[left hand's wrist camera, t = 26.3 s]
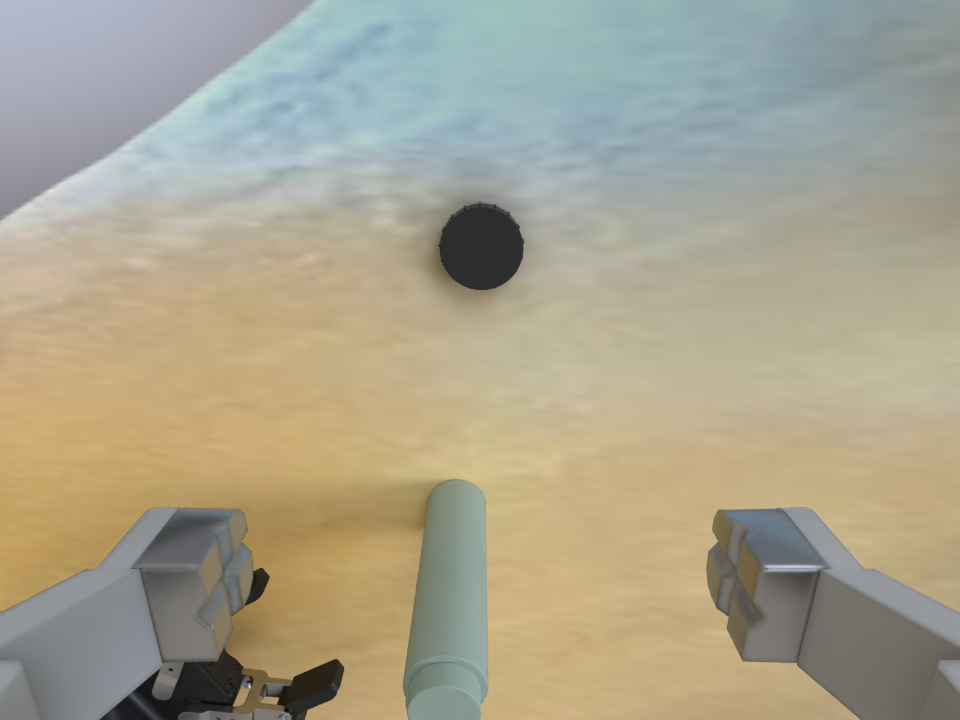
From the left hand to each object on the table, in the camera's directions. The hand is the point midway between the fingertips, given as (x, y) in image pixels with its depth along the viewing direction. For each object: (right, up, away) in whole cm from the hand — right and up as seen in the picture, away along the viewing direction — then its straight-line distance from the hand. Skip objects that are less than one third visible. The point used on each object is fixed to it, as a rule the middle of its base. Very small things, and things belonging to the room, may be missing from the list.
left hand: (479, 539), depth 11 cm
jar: (-2, -7, +32) cm, 33 cm away
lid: (0, +9, +24) cm, 26 cm away
